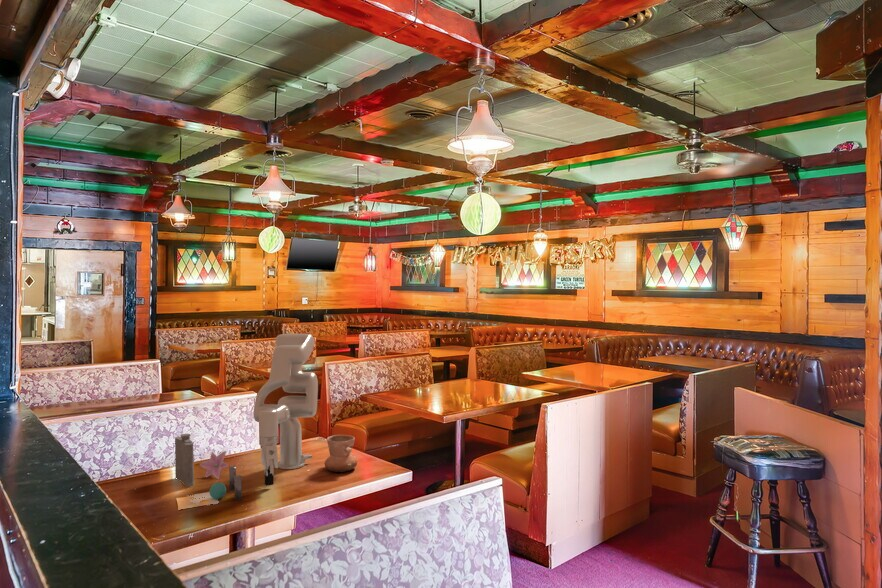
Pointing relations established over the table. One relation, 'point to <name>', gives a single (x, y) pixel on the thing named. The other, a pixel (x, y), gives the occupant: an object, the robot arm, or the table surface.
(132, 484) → the table surface
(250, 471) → the table surface
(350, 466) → the ceramic jug
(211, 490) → the ball
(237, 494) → the post
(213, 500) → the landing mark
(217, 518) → the table surface
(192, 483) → the hip flask
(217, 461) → the lily
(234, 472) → the post
